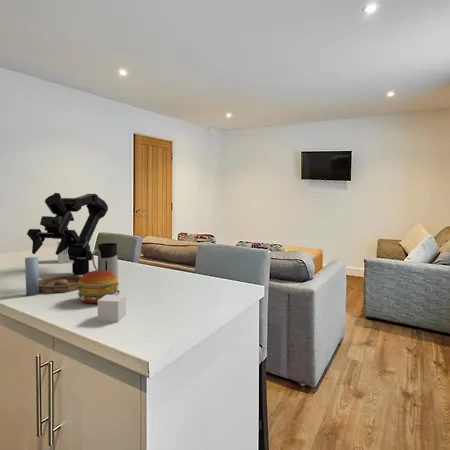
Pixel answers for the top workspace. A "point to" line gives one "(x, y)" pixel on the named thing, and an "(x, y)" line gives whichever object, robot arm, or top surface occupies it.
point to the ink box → (64, 256)
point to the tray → (59, 284)
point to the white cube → (112, 308)
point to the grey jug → (107, 258)
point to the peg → (32, 276)
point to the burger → (97, 285)
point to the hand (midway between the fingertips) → (44, 253)
